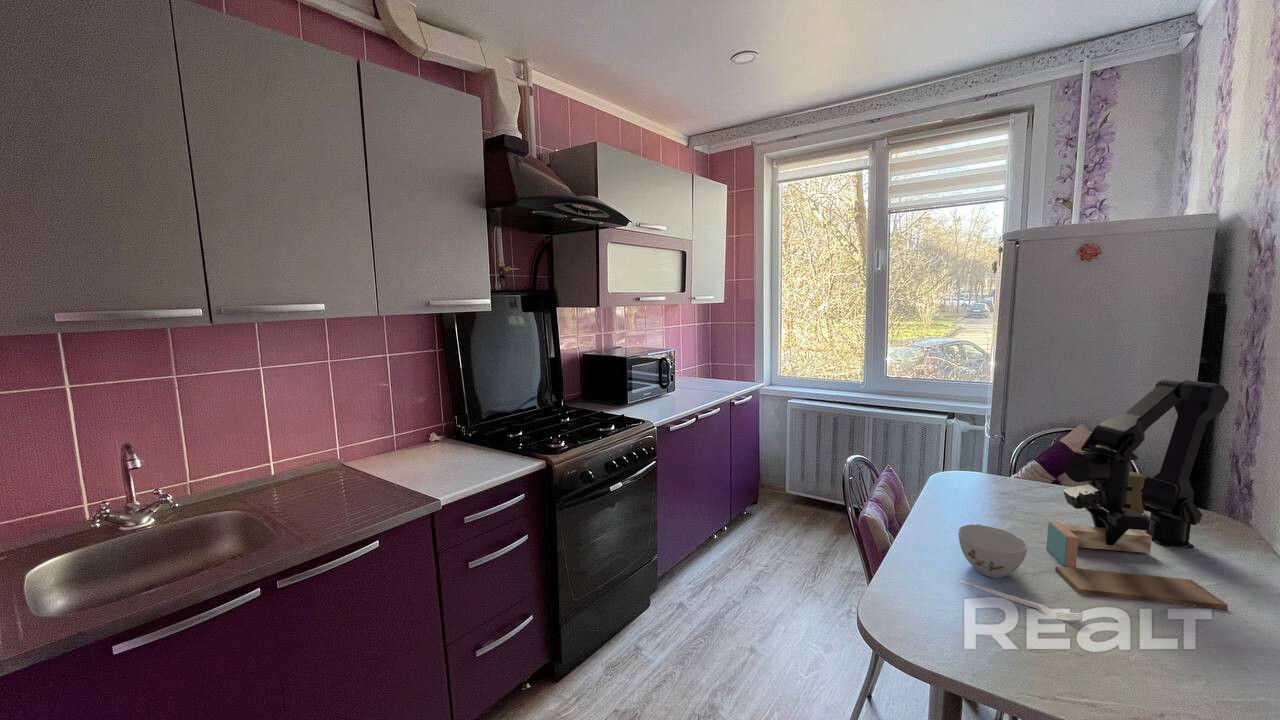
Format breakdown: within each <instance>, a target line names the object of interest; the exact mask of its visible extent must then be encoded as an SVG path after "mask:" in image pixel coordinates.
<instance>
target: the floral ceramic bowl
mask: <svg viewBox="0 0 1280 720" xmlns="http://www.w3.org/2000/svg"><path fill="white" fill-rule="evenodd" d="M958 540H959V541H958V542H959V545H960V549H961V551H962V554H963V555H964V558H965V559H966V561H968V563H969V564H970V565H971V566H972V567H973V569H974V570H975V571H976V572H978V573H979V574H981V575H984V576H987V577H990V578H995V579H999V578H1004V577H1006V575H1009V574H1011V573H1013V572H1015V571H1016V570H1017V569H1018V568H1019V567H1020V566H1021V565H1022V563H1023V562H1024V561H1025V557H1026V555H1027V553H1028V543H1027V542H1026V541H1025V540H1024V539H1023V538H1021V537H1019V536H1017V535H1015V534H1014V533H1013V532H1010V531H1007V530H1005V529H1002V528H997V527H994V526H986V525H983V524H967V525H966V524H965V525H962V526H961V527H959V528H958Z"/></svg>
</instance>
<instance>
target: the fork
mask: <svg viewBox="0 0 1280 720" xmlns="http://www.w3.org/2000/svg"><path fill="white" fill-rule="evenodd" d="M959 582H960V583H961V584H964V585H967V586H970V587H973V588H975V589H978V590H981V591H983V592H986V593H989V594H993V595H996V596H998V597H1001V598H1004V599H1006V600H1009V599H1010V601H1012V602H1016V603H1019V604H1022V605H1025V606H1028V607H1030V608H1034V609H1037V610H1038V611H1039V612H1040V613H1041V614H1043V615H1045V616H1047V617H1051V618H1053V619H1056V620H1059V621H1061V622H1073V621H1080V620H1082V619H1083V616H1084V614H1085V613H1084V612H1080V613H1079V612H1064V611H1059V610H1056V609H1055V610H1054V609H1052V608H1050V607H1048V606H1045V605H1043V604H1041V603H1037V602H1034V601H1032V600H1027V599H1025V598H1021V597H1017V596H1014V595H1010V594H1008V593H1004V592H1001V591H998V590H994V589H990V588H986V587H984V586H980V585H977V584H974V583H969V582H967V581H963V580H960V581H959Z"/></svg>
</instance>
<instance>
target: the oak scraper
mask: <svg viewBox="0 0 1280 720" xmlns="http://www.w3.org/2000/svg"><path fill="white" fill-rule="evenodd" d="M1062 525H1063V526H1065V527H1066V528H1067V529H1068V530H1070V531H1071V532H1072V533H1073V534H1075V535H1076V536H1077V537H1078V548H1084V549H1085V548H1086V549H1087V548H1088V549H1094V550H1095V549H1098V550H1110V551H1121V552H1122V551H1123V552H1134V553H1145V554H1148V553H1149V554H1150V553H1151V547H1152V546H1151V545H1152V540H1153V539H1152V536H1150V535H1149V534H1147V533H1146V532H1144V531H1145V530H1133V529H1129V530H1127V531H1126V532H1125V533H1124V534H1123V535H1122V536H1121V537H1120V538H1119V539H1118V541H1117V542H1116V543H1115V544H1114V545H1112V546H1111V545H1107V544H1106V533H1105V528H1100V527H1095V526H1082V525H1073V524H1072V525H1071V524H1062Z"/></svg>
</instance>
